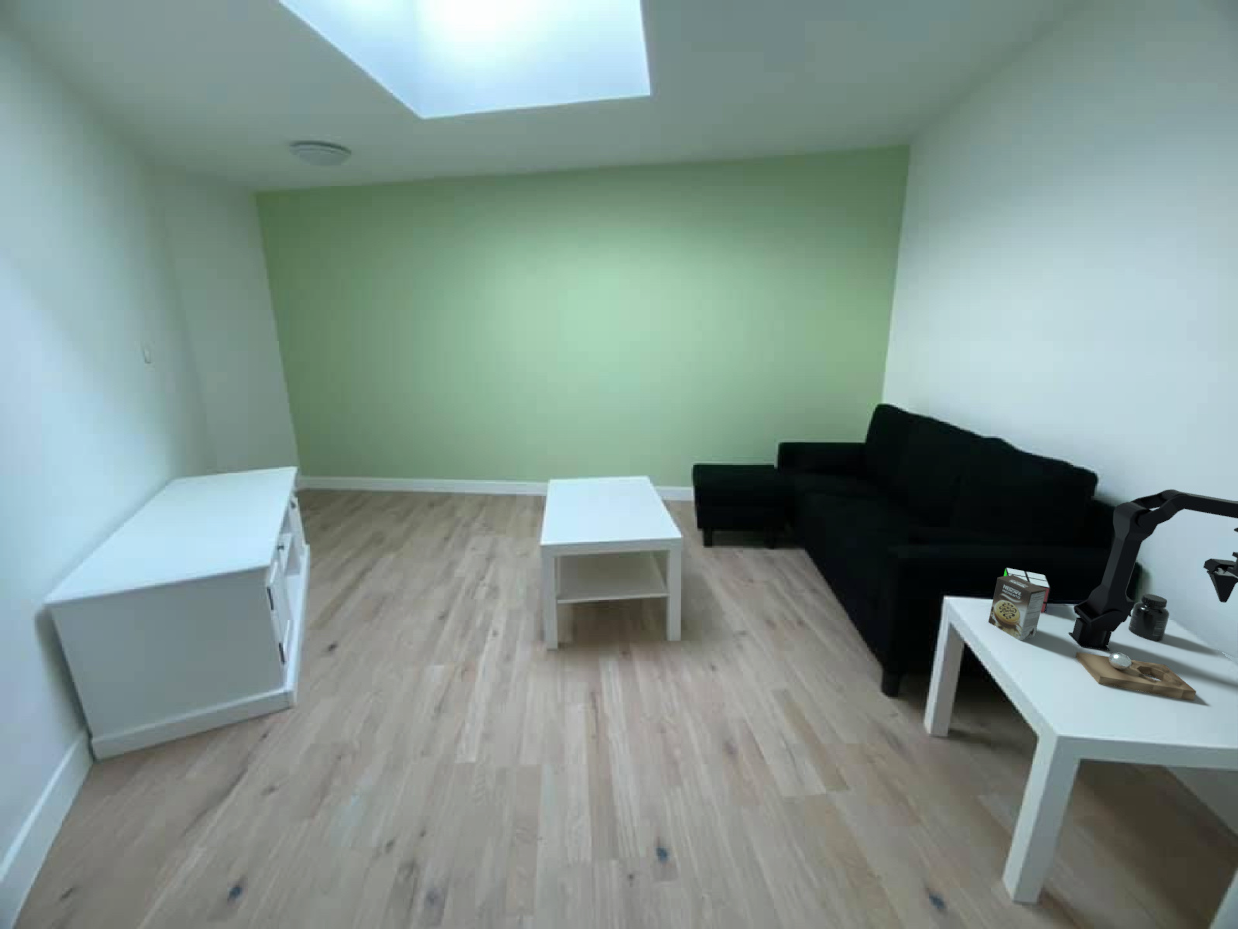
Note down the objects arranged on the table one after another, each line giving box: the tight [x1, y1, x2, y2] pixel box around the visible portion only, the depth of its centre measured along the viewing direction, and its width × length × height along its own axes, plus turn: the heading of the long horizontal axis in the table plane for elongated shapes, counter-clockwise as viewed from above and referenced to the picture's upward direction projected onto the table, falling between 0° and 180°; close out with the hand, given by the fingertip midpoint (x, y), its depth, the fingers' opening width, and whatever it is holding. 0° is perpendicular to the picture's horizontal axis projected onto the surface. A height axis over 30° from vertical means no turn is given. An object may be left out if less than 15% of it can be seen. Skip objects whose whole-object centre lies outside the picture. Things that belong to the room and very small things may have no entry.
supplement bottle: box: [1128, 593, 1170, 642], centre depth 139 cm, size 7×7×12 cm
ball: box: [1108, 652, 1132, 670], centre depth 122 cm, size 4×4×4 cm
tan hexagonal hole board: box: [1075, 651, 1197, 701], centre depth 122 cm, size 18×10×2 cm, turn 73°
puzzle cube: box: [1003, 567, 1052, 614], centre depth 154 cm, size 10×10×10 cm
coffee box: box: [988, 575, 1046, 641], centre depth 139 cm, size 9×6×16 cm
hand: (1237, 611), depth 124 cm, fingers open, 9 cm apart
